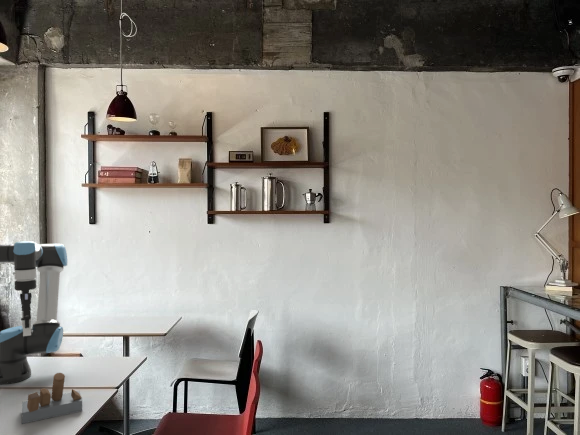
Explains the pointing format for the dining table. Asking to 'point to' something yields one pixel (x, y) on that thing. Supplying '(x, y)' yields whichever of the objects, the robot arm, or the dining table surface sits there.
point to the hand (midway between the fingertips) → (26, 331)
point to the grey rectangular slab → (52, 408)
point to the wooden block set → (46, 396)
